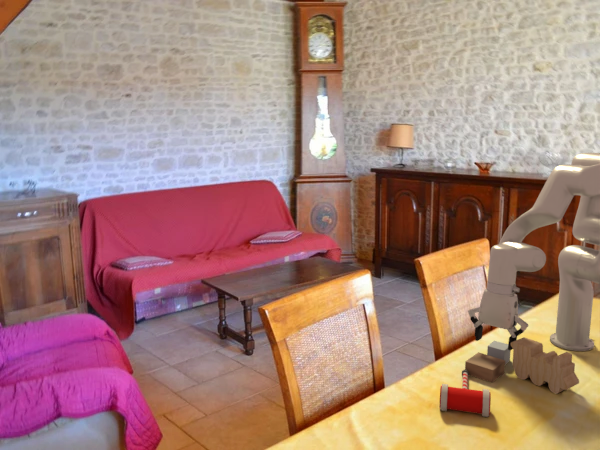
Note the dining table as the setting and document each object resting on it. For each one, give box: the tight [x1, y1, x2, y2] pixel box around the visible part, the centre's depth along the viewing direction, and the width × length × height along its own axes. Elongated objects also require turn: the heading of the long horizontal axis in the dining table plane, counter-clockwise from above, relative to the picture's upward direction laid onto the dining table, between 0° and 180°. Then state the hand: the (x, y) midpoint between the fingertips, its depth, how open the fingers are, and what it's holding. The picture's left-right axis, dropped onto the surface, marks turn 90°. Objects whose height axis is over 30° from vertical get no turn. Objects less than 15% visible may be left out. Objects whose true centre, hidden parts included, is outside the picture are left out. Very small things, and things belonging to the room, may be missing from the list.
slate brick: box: [486, 340, 512, 366], centre depth 159 cm, size 5×5×5 cm
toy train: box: [511, 337, 580, 394], centre depth 146 cm, size 6×17×10 cm, turn 34°
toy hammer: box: [439, 369, 492, 418], centre depth 140 cm, size 23×12×6 cm, turn 163°
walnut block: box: [464, 352, 506, 383], centre depth 152 cm, size 8×8×4 cm
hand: (494, 344), depth 158 cm, fingers open, 9 cm apart
